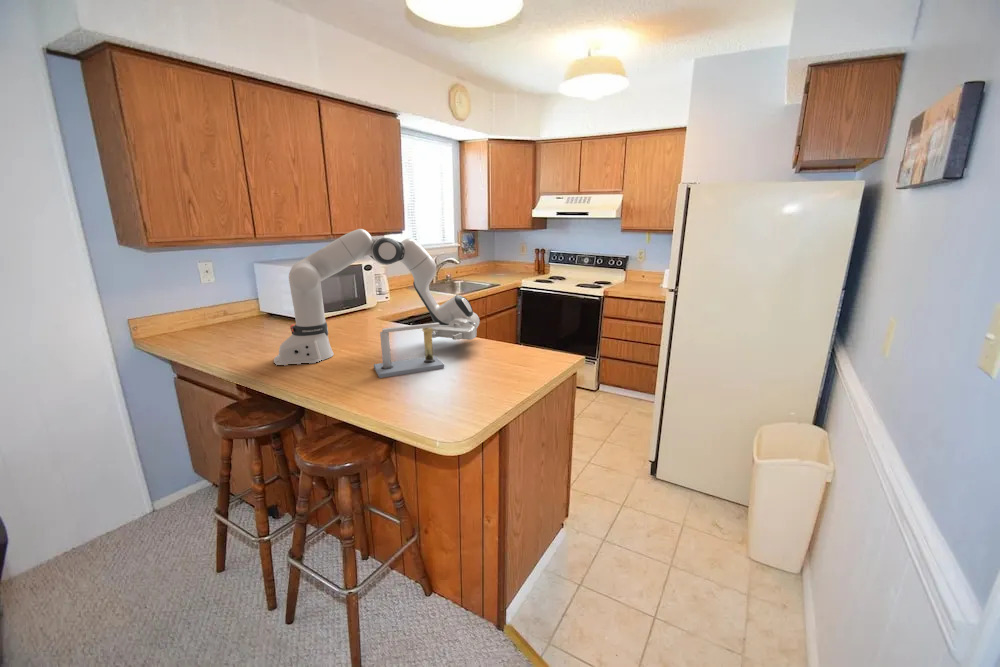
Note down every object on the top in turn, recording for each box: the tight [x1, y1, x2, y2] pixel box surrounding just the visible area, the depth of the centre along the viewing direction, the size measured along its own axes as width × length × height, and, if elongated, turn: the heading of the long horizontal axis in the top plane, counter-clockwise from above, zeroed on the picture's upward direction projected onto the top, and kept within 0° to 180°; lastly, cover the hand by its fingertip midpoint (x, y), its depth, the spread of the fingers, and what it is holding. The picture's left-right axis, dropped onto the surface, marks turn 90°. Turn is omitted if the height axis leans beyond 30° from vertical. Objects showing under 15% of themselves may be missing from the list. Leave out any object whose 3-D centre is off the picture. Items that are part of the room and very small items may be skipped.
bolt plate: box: [373, 322, 445, 379], centre depth 160 cm, size 24×12×16 cm, turn 114°
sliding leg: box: [422, 328, 434, 360], centre depth 163 cm, size 3×3×12 cm
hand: (443, 336), depth 174 cm, fingers open, 8 cm apart
